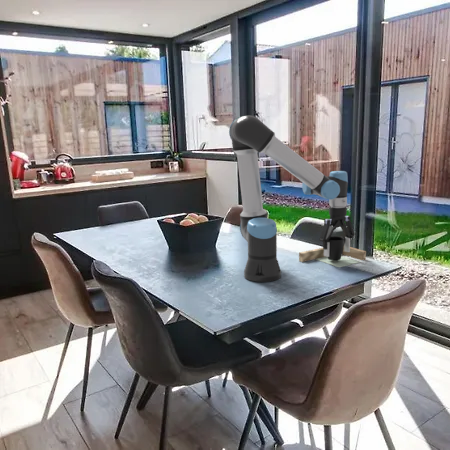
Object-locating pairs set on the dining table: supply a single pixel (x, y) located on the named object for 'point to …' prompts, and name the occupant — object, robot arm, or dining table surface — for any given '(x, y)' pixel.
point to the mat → (338, 261)
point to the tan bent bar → (320, 253)
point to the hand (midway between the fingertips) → (336, 253)
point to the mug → (336, 247)
